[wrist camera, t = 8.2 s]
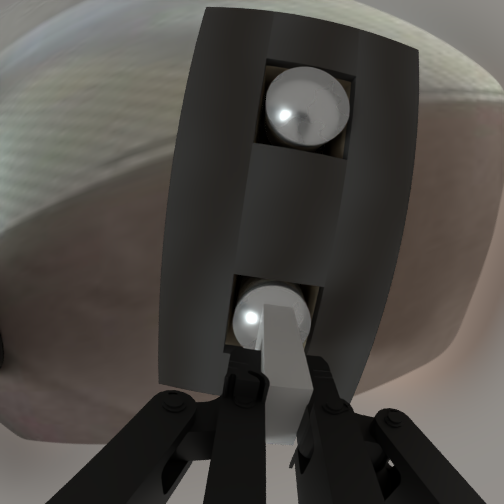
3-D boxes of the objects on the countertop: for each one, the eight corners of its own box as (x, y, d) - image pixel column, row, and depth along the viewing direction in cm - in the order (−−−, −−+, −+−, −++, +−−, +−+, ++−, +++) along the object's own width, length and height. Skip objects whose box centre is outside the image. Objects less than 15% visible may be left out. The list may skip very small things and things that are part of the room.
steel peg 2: (236, 311, 21) (228, 352, 15) (244, 256, 20) (238, 282, 14) (292, 319, 21) (301, 361, 15) (303, 265, 20) (318, 294, 14)
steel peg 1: (260, 150, 18) (260, 136, 13) (269, 93, 17) (271, 60, 12) (321, 161, 18) (344, 151, 13) (329, 104, 17) (352, 77, 12)
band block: (181, 338, 22) (158, 383, 16) (219, 49, 18) (206, 6, 12) (331, 359, 22) (348, 406, 16) (382, 79, 18) (418, 50, 12)
